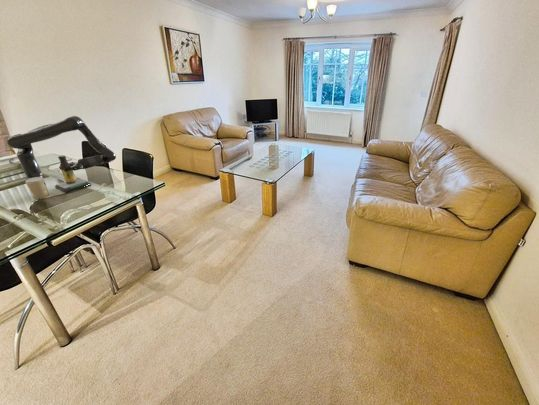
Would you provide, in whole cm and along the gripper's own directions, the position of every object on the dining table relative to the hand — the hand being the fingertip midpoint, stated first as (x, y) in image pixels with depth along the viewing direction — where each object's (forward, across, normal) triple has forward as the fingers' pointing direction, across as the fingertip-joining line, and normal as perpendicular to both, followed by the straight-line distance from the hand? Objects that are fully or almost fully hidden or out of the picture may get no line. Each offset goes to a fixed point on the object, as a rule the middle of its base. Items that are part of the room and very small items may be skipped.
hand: (62, 169), depth 174 cm
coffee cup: (+16, -1, +14) cm, 22 cm away
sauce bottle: (-2, 0, +11) cm, 11 cm away
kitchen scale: (-2, +2, +14) cm, 14 cm away
